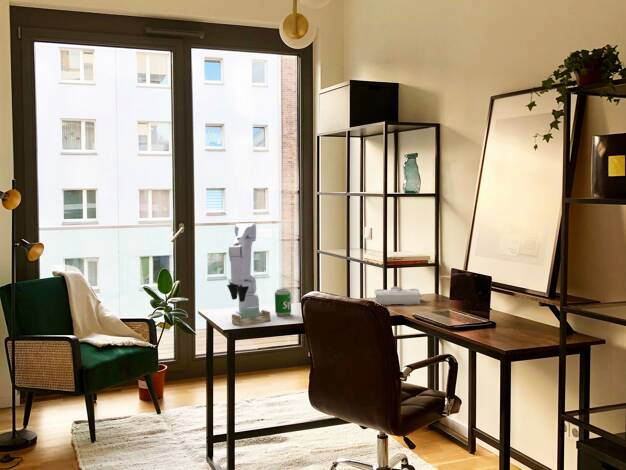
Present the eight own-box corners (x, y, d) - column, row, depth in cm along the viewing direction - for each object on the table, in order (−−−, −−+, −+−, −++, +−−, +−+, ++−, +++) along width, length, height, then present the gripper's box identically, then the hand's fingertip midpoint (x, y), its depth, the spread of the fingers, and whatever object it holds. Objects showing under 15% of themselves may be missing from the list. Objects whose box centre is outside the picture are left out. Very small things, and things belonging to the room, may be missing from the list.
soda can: (278, 317, 334) (277, 291, 333) (273, 314, 341) (272, 289, 340) (293, 315, 337) (292, 290, 336) (288, 312, 344) (287, 288, 343)
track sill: (263, 318, 331) (263, 310, 331) (270, 320, 326) (270, 311, 325) (231, 323, 322) (231, 314, 322) (238, 325, 317) (237, 316, 316)
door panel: (256, 319, 327) (256, 306, 326) (259, 320, 325) (259, 307, 324) (241, 321, 323) (240, 308, 322) (243, 322, 320) (243, 309, 320)
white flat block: (430, 305, 353) (430, 290, 353) (374, 306, 355) (374, 291, 355) (427, 299, 372) (427, 285, 372) (374, 300, 375) (373, 286, 374)
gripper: (222, 270, 331) (223, 299, 332) (236, 273, 319) (237, 303, 320) (235, 269, 335) (236, 297, 336) (250, 272, 323) (251, 301, 324)
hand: (238, 300), depth 329 cm, fingers open, 7 cm apart
